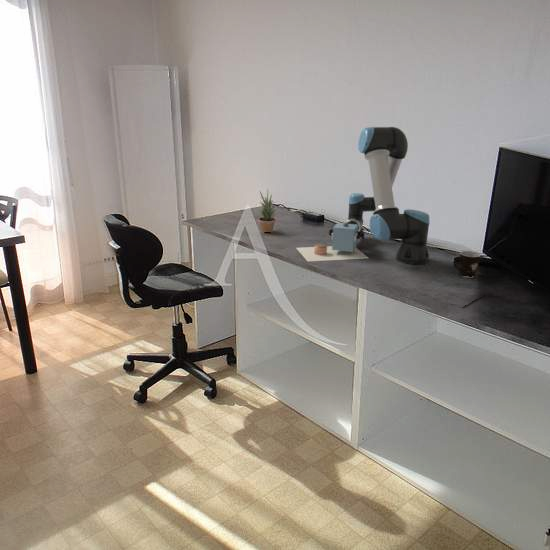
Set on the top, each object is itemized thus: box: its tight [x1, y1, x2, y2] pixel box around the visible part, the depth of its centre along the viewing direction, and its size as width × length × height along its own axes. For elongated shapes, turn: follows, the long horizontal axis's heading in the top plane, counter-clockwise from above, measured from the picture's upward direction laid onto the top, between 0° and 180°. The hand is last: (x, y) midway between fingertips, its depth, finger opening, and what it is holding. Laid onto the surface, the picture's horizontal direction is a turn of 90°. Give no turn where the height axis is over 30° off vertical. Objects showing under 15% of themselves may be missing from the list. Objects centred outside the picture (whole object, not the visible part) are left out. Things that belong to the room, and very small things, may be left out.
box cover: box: [331, 222, 358, 252], centre depth 251 cm, size 10×10×12 cm
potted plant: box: [257, 188, 276, 233], centre depth 285 cm, size 10×10×25 cm
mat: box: [295, 245, 369, 262], centre depth 253 cm, size 22×30×1 cm
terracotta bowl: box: [314, 244, 327, 255], centre depth 251 cm, size 6×6×4 cm
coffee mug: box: [453, 250, 482, 277], centre depth 224 cm, size 12×9×10 cm
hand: (343, 238), depth 247 cm, fingers closed on box cover, 10 cm apart
